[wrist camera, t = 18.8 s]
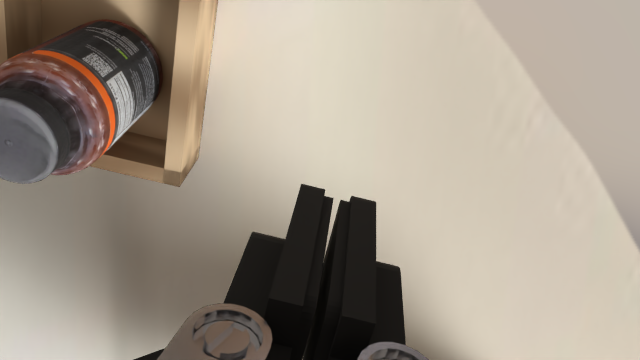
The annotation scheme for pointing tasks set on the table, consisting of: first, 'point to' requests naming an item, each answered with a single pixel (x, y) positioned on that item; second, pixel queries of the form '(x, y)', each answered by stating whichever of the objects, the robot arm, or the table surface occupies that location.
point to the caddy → (177, 65)
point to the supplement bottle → (73, 98)
